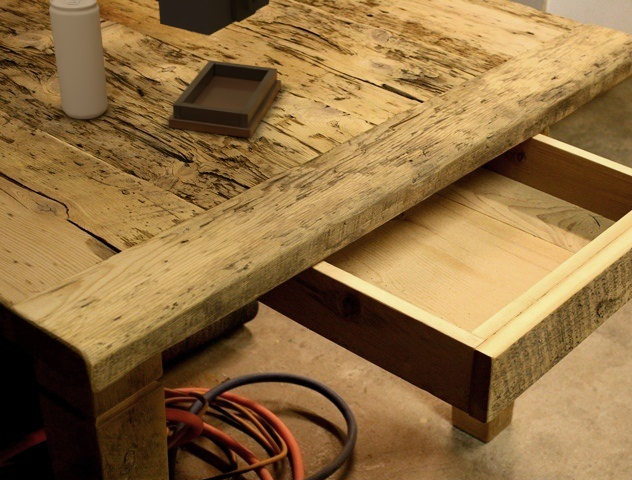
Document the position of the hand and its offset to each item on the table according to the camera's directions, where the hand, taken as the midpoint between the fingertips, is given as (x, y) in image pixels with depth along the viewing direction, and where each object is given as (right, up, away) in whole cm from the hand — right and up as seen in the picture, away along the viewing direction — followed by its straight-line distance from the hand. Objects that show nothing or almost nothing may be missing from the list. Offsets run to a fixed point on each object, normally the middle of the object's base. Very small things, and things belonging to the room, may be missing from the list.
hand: (216, 8), depth 82 cm
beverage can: (-16, -6, +17) cm, 24 cm away
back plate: (-2, -5, +20) cm, 21 cm away
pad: (0, 0, 0) cm, 0 cm away
